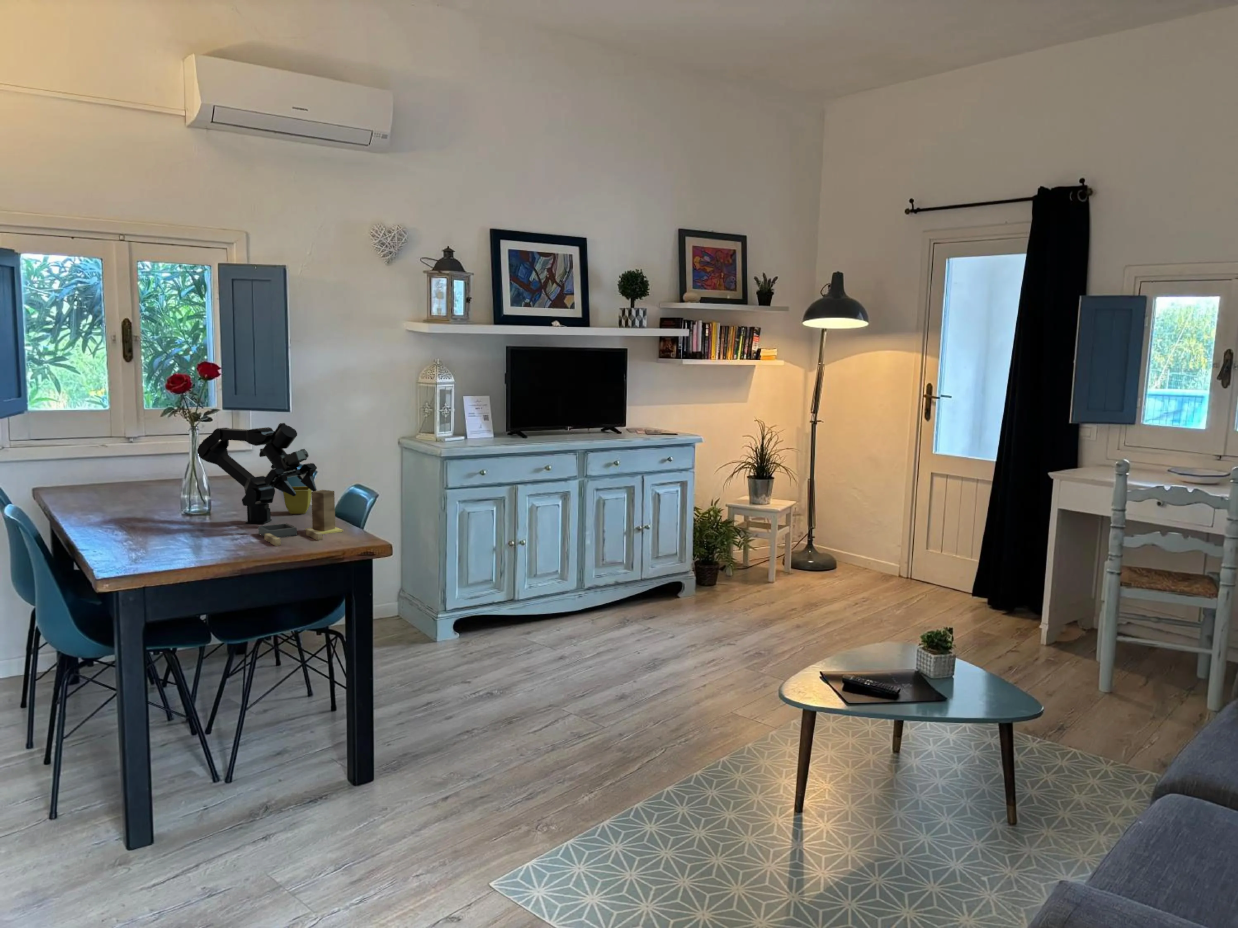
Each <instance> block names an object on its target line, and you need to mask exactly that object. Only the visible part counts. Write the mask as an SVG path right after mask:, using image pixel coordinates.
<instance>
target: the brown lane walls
mask: <svg viewBox="0 0 1238 928" xmlns="http://www.w3.org/2000/svg"><path fill="white" fill-rule="evenodd" d="M307 528H308V529H306V530H305V535H306V536H307V537H310V538H311V539H314V540H316V541H323V540H324V538H323V535H324V534H322V533H320V532H318V531H316V530H313V529H311V528H312V527H307ZM263 538H264V541H265V540H266V541H265V542H267V541H268V543H269V542H270V543H269V544H271V545H273V546H275V547H279V546H281V545H282V543H281V542H282V540H281V538H278V537H276V536H274V535H272V534H270V533H266V534H264V537H263Z"/></svg>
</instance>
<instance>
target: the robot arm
mask: <svg viewBox="0 0 1238 928" xmlns="http://www.w3.org/2000/svg"><path fill="white" fill-rule="evenodd" d="M297 437H298V432H297V430H296V428H293V427H291V426H289V425H287V424H286V423H285V422H282V423H278V426H277V427H276V429H275V430H273V428H272V427H269V426H268V427H259V428H252V429H246V428H245V429H244V428H243V429H241V428H229V427H220V428H219V427H218V428H215V429H214V430H213V431H212V433H211V434H209V435H208V436H207V437H206V438H205V439H203V440H202V441H201V443H200V444H198V447H197V450H196V451H197V455H198V454H199V455H198V457H199V458H200V459H201V460H203V461H205V462H206V463H210V464H214V465H217V467H219V468H220V469H222V470H223V471H224V472H225V473H226V474H228V476H230V477H232V479H233V480H235V482H237V483H239V484H240V486H242V487H243V488H244V493H245V495H244V496H243V497H242V499H241V502H242V506H244V507H246V517H247V520H246V521H244V523H245V524H254V525H256V524H257V525H258V524H259V525H263V524H266V523H269V522H271V521H272V518H271V517H272V514H271V507H270V504H273V502H274V498H275V494H276V489H278V490H279V491H281V492H283V491H284V492H286V493H288V494H290V495H292V496H295V495H296V493H295V491H294V489H293V488H292V487H293V486H292V485H291V483H290V482H289V480H288V478H292V477H293V478H294V477H297V478H298V479H299V480H300V482H301V484H303V486H307V487H308V488H309V489H310V490H312V492H314V491H318V489H317V485H316V483H315V480H314V474H315V472H316V470H317V469H318V467H317V466H316V464H315V463H313V462H309V463H303V464H302V465H301V464H300V463H302V462H304V461H306V460H308V458H309V452H308V451H307V450H306V449H305V448H303V449H302V448H301V449H299V450H296V451H293V452H291V453H287V452H286V450H284V449H289V447H290V446H291V444H292V443H293V441H294V440H295V439H296V438H297ZM230 441H235V442H236V441H237V442H246V443H247V444H249V445H253V446H256V447H257V446H264V447H262V448H260V449H259V451H260V452H259V455H258V457H260V458H263V457H266V458H267V459H268V461H269V463H271V465H270V468H271V469H270V470H269V472H268V473H267V474H266V476H265V475H260V476H255V475H253V474H252V473H251V472H250V471H248V470H247V469H246V468H245V467H244V466H242V465H241V464H240V463H239V462H238V461H236V460H235V459H234V458H233V457H231V456H230V454H229V452H228V447H229V446H230ZM299 467H300V468H299ZM298 468H299V469H298Z"/></svg>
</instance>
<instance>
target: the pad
mask: <svg viewBox="0 0 1238 928" xmlns="http://www.w3.org/2000/svg"><path fill="white" fill-rule="evenodd" d="M308 528H309V527H307V528H305V529H304V530H305V531H306V529H308ZM310 528H311V529H313V528H312V527H310ZM316 531H317V530H316ZM318 532H320V533H322V534H323V535H327V534H335V533H342V532H344V529H341V528H339V527H337V526H335V529H332V530H328V531H318Z"/></svg>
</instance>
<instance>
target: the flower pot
mask: <svg viewBox="0 0 1238 928" xmlns="http://www.w3.org/2000/svg"><path fill="white" fill-rule="evenodd" d="M292 488H293V489H294V491H295V493H296V495H295V496H292V495H290V494H288V493H286V492H284V491H282V492H283V500H284V504H285V507H286V509H287V511H288V513H289V514H290V515H294V514H295V515H301V514H302V515H304V514H306V513H307V511H308V510H309V508H310V506H311V503H312V494H311V492H313V491H312V490H310V489H309V488H308V487H307V486H305V485H303V486H292Z"/></svg>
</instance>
